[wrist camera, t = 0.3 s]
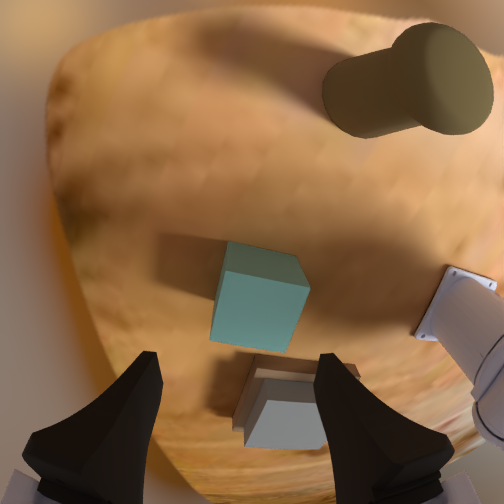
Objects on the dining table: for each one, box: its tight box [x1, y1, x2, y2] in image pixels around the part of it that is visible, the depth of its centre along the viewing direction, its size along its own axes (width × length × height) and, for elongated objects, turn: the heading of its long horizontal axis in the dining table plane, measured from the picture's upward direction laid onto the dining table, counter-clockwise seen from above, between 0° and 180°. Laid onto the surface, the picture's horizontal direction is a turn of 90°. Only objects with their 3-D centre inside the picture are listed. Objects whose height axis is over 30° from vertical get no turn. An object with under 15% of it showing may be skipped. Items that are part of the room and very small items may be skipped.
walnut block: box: [232, 354, 361, 432], centre depth 26 cm, size 10×10×2 cm
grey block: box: [244, 378, 327, 449], centre depth 24 cm, size 8×8×2 cm
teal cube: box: [210, 241, 311, 353], centre depth 19 cm, size 5×5×5 cm
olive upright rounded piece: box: [322, 22, 494, 139], centre depth 12 cm, size 6×6×11 cm
